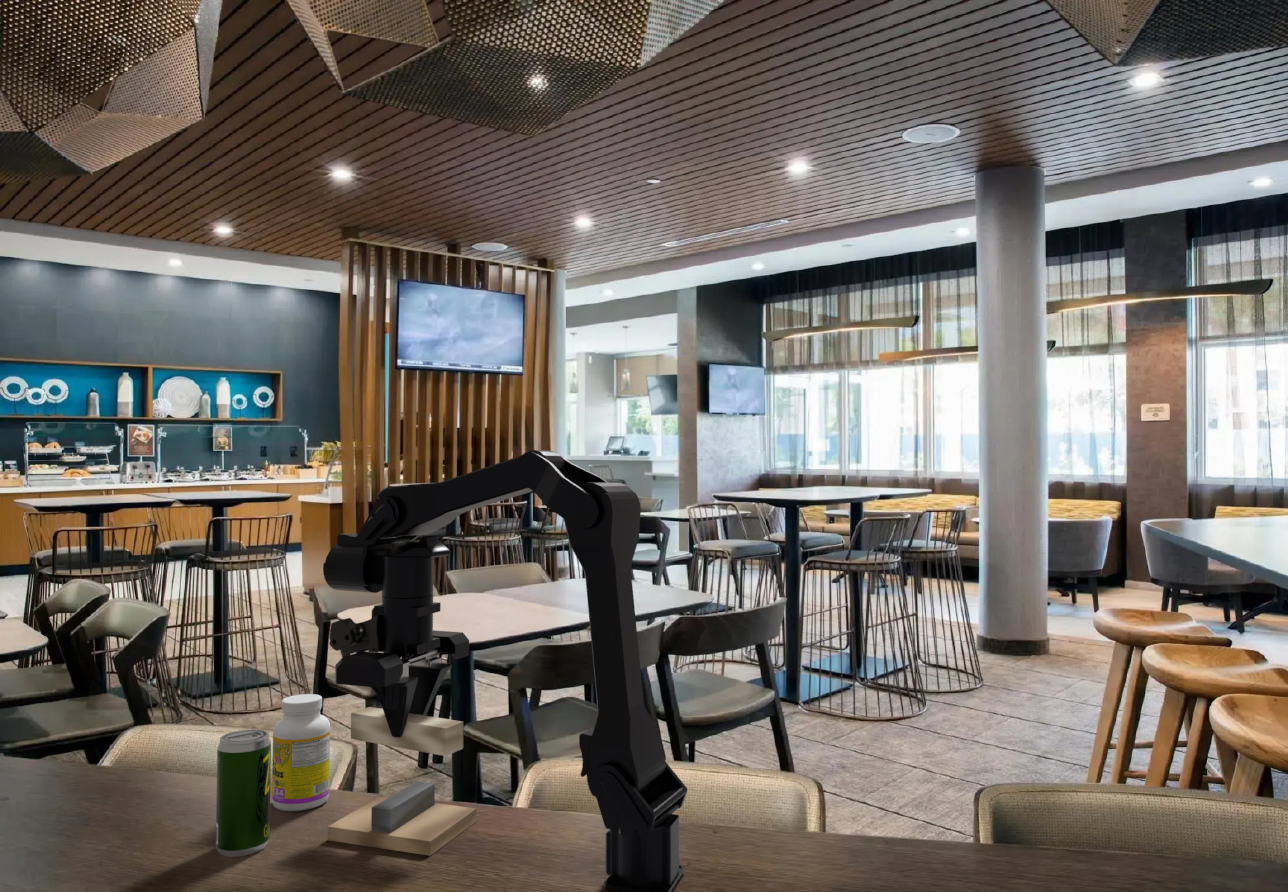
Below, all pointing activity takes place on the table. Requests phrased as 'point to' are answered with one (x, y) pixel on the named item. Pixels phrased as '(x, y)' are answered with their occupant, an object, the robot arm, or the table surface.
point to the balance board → (407, 834)
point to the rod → (409, 732)
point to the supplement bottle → (301, 755)
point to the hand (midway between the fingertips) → (406, 732)
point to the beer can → (243, 792)
